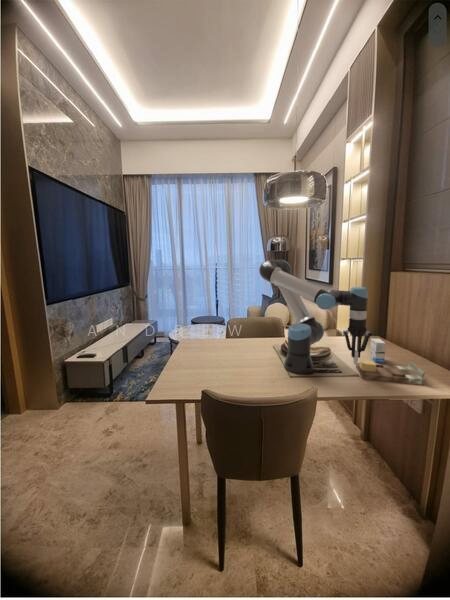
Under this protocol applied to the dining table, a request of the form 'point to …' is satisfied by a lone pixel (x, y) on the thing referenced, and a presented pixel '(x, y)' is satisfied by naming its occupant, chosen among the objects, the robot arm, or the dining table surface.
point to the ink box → (377, 350)
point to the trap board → (395, 373)
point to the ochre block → (367, 365)
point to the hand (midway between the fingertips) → (355, 363)
